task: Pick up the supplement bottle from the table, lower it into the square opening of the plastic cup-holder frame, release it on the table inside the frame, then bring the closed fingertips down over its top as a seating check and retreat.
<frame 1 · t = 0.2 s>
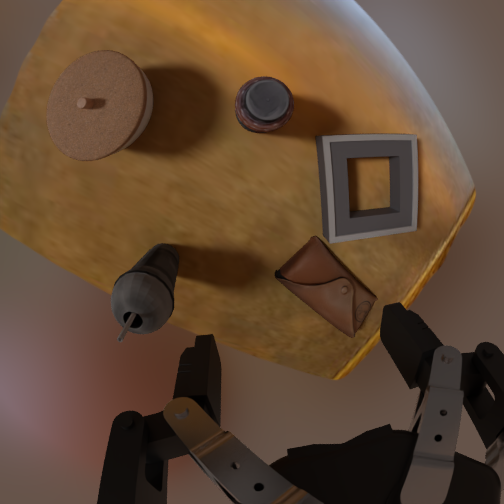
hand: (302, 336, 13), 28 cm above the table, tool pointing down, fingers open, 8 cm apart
holder block: (366, 182, 38), on the table
beverage cup: (164, 257, 41), on the table
sunglasses case: (330, 285, 45), on the table
lidded bowl: (120, 109, 33), on the table
supplement bottle: (258, 111, 34), on the table
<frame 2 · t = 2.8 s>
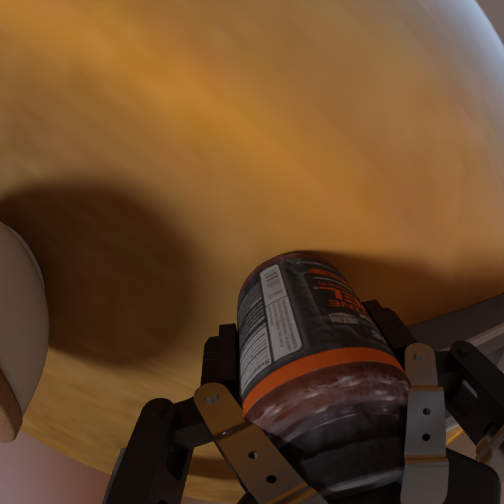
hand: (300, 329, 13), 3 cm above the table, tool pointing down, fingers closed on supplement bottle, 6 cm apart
holder block: (446, 370, 20), on the table
beverage cup: (141, 456, 23), on the table
lidded bowl: (8, 272, 14), on the table
supplement bottle: (290, 296, 16), on the table, touching gripper
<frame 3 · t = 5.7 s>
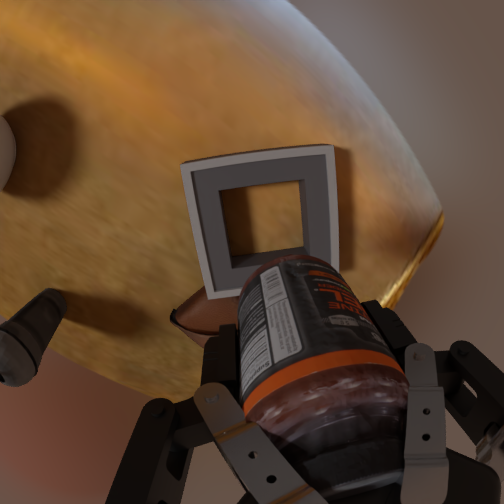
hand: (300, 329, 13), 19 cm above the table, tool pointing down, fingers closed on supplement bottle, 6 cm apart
holder block: (263, 216, 31), on the table
beverage cup: (54, 301, 33), on the table
sunglasses case: (244, 331, 37), on the table
lidded bowl: (0, 152, 25), on the table
supplement bottle: (290, 298, 16), point 16 cm above the table, touching gripper
when the fingers open (4 cm above the table, at t = 8.3 s): supplement bottle drops 1 cm, resting in holder block.
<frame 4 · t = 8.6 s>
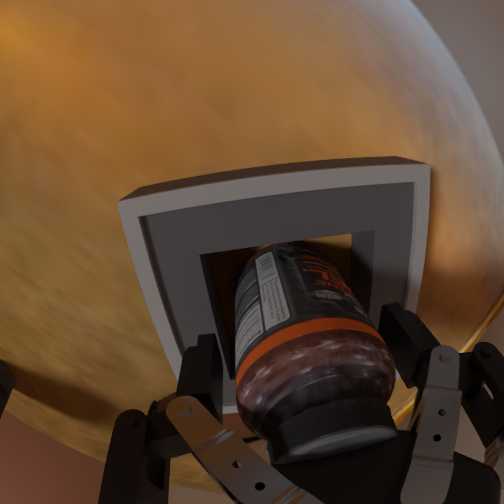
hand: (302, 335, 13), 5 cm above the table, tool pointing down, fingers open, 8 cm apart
holder block: (286, 286, 17), on the table
beverage cup: (0, 369, 20), on the table
sunglasses case: (254, 425, 23), on the table
supplement bottle: (284, 283, 17), resting in holder block
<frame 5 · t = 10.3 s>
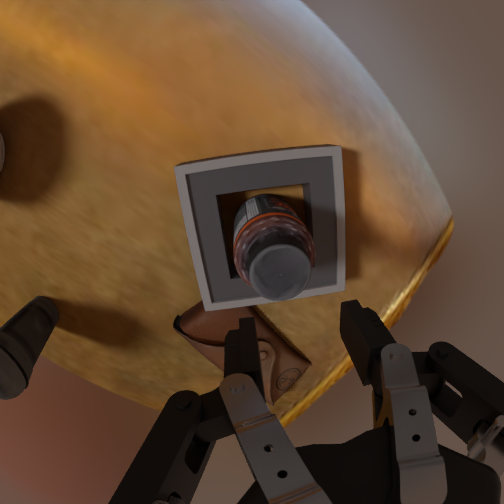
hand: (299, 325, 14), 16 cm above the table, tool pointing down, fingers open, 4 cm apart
holder block: (265, 222, 28), on the table
beverage cup: (46, 309, 31), on the table
sunglasses case: (249, 342, 35), on the table
supplement bottle: (264, 221, 29), resting in holder block
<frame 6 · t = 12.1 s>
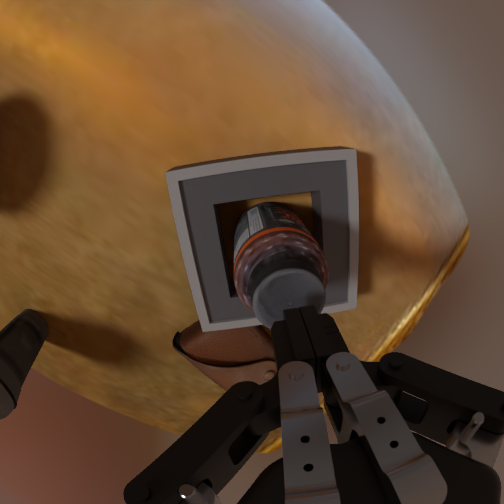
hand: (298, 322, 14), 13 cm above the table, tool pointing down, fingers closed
holder block: (268, 234, 25), on the table
beverage cup: (35, 323, 28), on the table
sunglasses case: (255, 359, 32), on the table
supplement bottle: (267, 232, 26), resting in holder block
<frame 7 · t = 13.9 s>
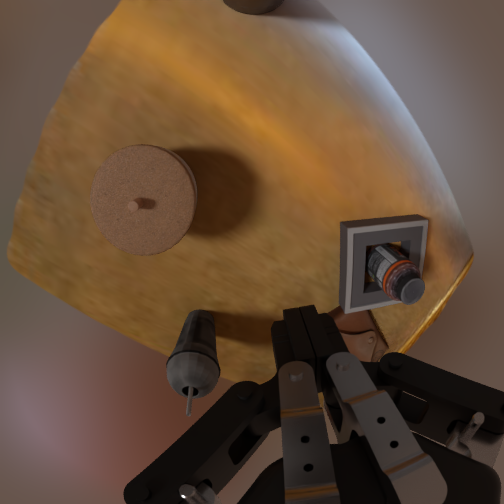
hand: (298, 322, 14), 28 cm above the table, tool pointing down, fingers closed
holder block: (379, 259, 44), on the table
beverage cup: (200, 320, 47), on the table
sunglasses case: (357, 333, 51), on the table
lidded bowl: (159, 187, 38), on the table
supplement bottle: (378, 258, 44), resting in holder block
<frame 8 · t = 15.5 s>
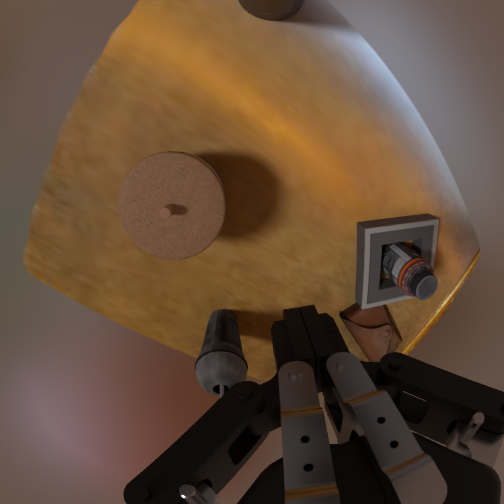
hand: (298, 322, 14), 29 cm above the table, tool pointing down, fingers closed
holder block: (393, 256, 46), on the table
beverage cup: (223, 319, 48), on the table
sunglasses case: (373, 327, 52), on the table
lidded bowl: (182, 192, 40), on the table
supplement bottle: (392, 255, 46), resting in holder block
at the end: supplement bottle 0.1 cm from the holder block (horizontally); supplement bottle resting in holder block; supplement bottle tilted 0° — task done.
